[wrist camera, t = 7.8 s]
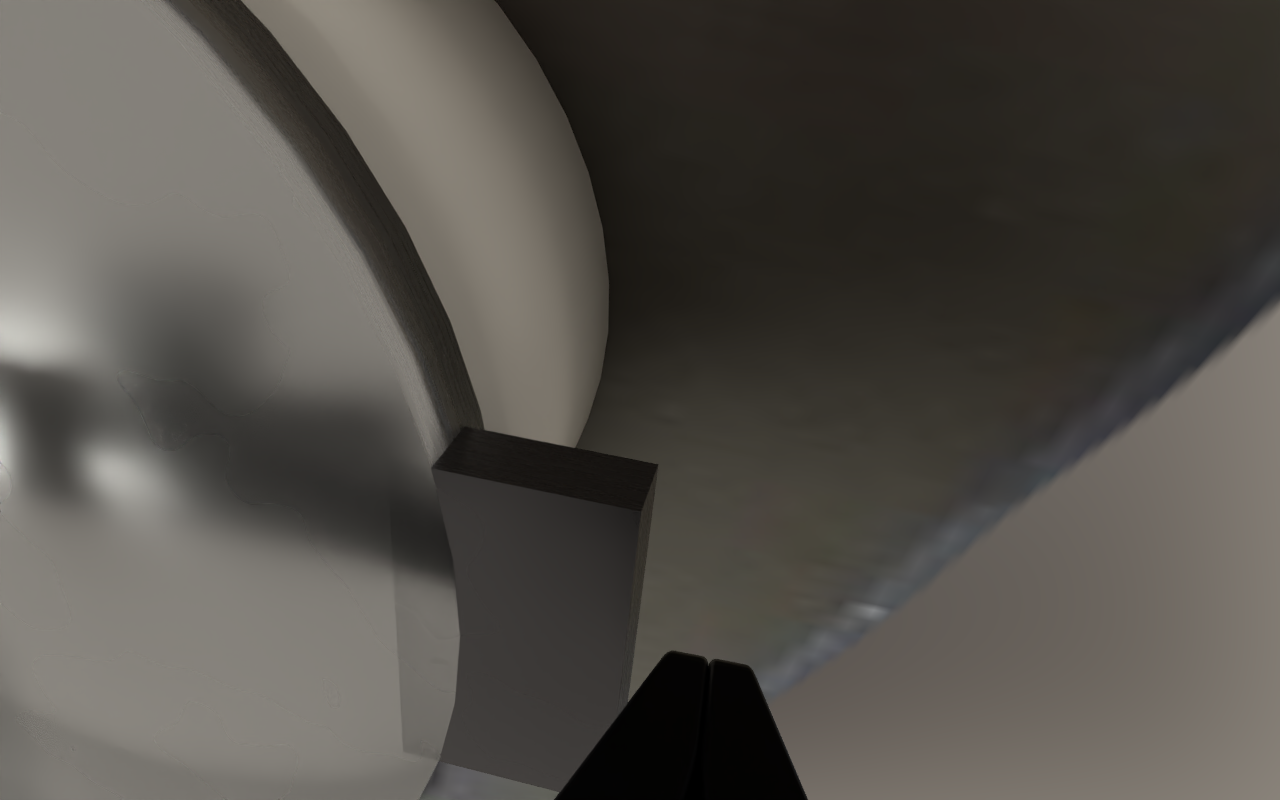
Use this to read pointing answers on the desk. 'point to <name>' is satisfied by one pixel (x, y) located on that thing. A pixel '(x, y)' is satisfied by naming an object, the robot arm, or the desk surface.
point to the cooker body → (473, 189)
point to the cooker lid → (263, 452)
